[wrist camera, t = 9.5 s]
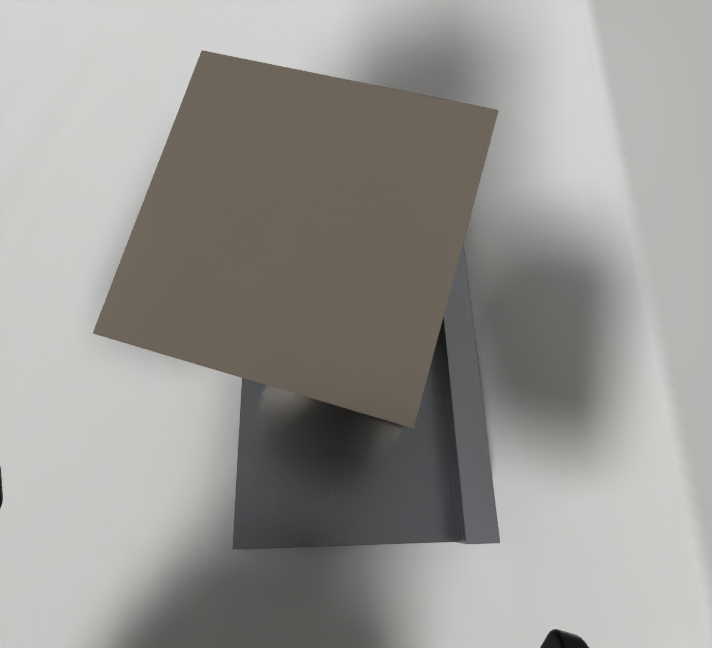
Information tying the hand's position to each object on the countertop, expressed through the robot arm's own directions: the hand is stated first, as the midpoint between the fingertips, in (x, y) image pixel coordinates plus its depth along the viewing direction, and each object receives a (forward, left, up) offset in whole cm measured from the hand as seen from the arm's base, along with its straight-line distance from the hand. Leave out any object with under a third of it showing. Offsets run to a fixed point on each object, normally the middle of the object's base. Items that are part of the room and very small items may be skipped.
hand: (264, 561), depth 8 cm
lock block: (+7, -2, -8) cm, 10 cm away
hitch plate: (+7, -2, -9) cm, 12 cm away
